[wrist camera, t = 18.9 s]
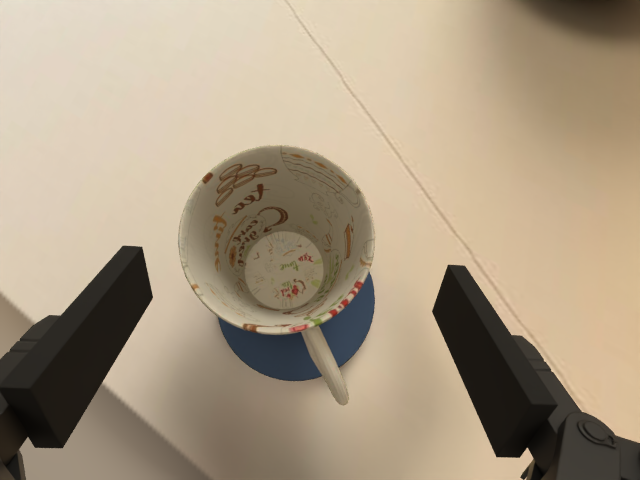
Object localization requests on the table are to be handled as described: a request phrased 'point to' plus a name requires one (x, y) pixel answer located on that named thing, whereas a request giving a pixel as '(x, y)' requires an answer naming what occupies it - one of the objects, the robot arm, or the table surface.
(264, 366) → the coaster
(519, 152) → the table surface
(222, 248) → the mug
